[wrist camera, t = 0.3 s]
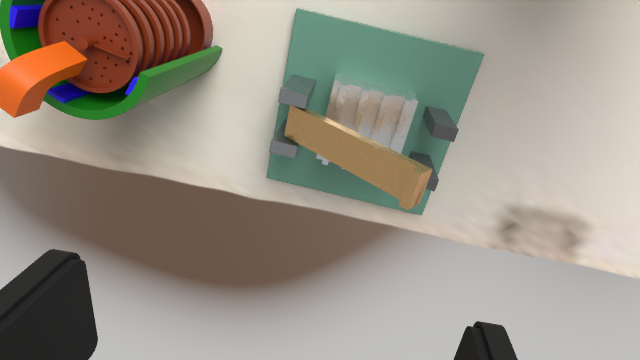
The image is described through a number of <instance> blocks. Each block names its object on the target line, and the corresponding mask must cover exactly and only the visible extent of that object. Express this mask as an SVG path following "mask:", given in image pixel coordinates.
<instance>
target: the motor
mask: <svg viewBox="0 0 640 360" xmlns="http://www.w3.org/2000/svg"><path fill="white" fill-rule="evenodd" d="M0 30H1V35H2V39H3V43H4V46H5V49H6V51H7V54H8V56H9V58H10V60H11V61H10V62H9V63H7V64H6V65H5V66H3V67H2V68H1V69H0V108H2V109H3V110H4V111H6V112H7V113H8V114H10V115H11V116H13V117H14V118H15V117H18V116H21V115H24V114H27V113H30V112H32V111H35V110H38V109H39V108H40V105H41V103H42V100H44V101H45V102H47V103H48V104H49V105H51V106H53V107H54V108H56V109H58V110H60V111H62V112H64V113H66V114H69V115H72V116H75V117H79V118H83V119H91V120H99V119H107V118H111V117H115V116H117V115H120V114H122V113H124V112H126V111H128V110H130V109H132V108H134V107H136V106H138V105H140V104H142V103H144V102H146V101H148V100H150V99H152V98H154V97H156V96H158V95H160V94H162V93H164V92H166V91H168V90H170V89H172V88H174V87H176V86H179V85H181V84H183V83H185V82H187V81H189V80H191V79H193V78H195V77H197V76H199V75H201V74H203V73H204V72H206V71H207V70H209V69H210V68H211V67H212V66H213V65H214V64H215V63H216V61H217V60H218V58H219V56H220V54H221V52H222V48H220V47H218V46H214V47H211V48H210V45H211V42H212V37H213V26H212V21H211V17H210V15H209V12H208V10H207V8H206V7H205V5H204V4H203V2H202V1H201V0H1V2H0Z"/></svg>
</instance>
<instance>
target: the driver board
mask: <svg viewBox="0 0 640 360" xmlns="http://www.w3.org/2000/svg"><path fill="white" fill-rule="evenodd" d="M483 56H484V54H483V53H481V52H477V51H472V50H468V49H464V48H460V47H456V46H452V45H448V44H444V43H440V42H436V41H431V40H427V39H423V38H419V37H415V36H411V35H407V34H403V33H399V32H395V31H390V30H386V29H382V28H378V27H374V26H370V25H366V24H362V23H358V22H354V21H349V20H345V19H341V18H337V17H333V16H329V15H325V14H321V13H317V12H312V11H308V10H304V9H300V8H297V9H296V15H295V20H294V26H293V32H292V37H291V43H290V49H289V54H288V60H287V65H286V71H285V77H284V82H283V85H284V84H285V83H286V82H287V81H288V79H289V78H290V77H291V76H292V75H293V74H295V75H299V76H303V77H307V78H311V79H315V80H316V84H315V89H314V92H313V94H312V96H311V98H310V100H309V102H308V104H307V106H306V108H307V109H309V110H311V111H313V112H316V113H318V114H320V115H322V116H324V117H326V113H327V109H328V104H329V100H330V96H331V92H332V87H333V83H334V79H335V76H336V74H338V75H342V76H346V77H350V78H354V79H358V80H362V81H366V82H371V83H375V84H379V85H383V86H387V87H391V88H395V89H399V90H403V91H407V92H412V93H415V94H416V97H417V99H418V104H417V107H416V110H415V113H414V116H413V119H412V122H411V125H410V128H409V131H408V134H407V137H406V140H405V143H404V146H403V149H402V152H401V154H402V155H404V156H406V157H409V158H411V159H413V160H415V161H417V162H419V163H421V164H423V165H425V166H427V167H429V168H431V169H432V172H431V175H430V177H429V180H428V183H427V185H426V188H425V191H424V193H423V196H422V198H421V201H420V204H418V205H416V206H415V207H413V208H411V209H409V210H406V209H404V208H402V207H401V206H399V202H400V200H399V199H398V198H396V197H394V196H392V195H390V194H389V193H387V192H385V191H383V190H381V189H380V188H378V187H376V186H374V185H372V184H371V183H369V182H367V181H365V180H363V179H362V178H360V177H358V176H356V175H354V174H353V173H351V172H349V171H347V170H345V169H341V168H342V167H340V166H338V165H336V164H335V163H333V162H328V165H324V164H322V161H323V160H321V159H317V158H316V156H317V154H316V153H315V152H313V151H311V150H309V149H307V148H306V147H304V146H302V145H300V147H299V150H298V152H297V155H296V157H295V158H291V157H287V156H283V155H279V154H275V153H271V156H270V162H269V167H268V173H267V178H271V179H275V180H279V181H283V182H287V183H291V184H296V185H300V186H304V187H308V188H312V189H316V190H320V191H324V192H328V193H332V194H337V195H341V196H345V197H349V198H353V199H357V200H361V201H365V202H369V203H373V204H378V205H382V206H386V207H390V208H394V209H398V210H402V211H406V212H410V213H414V214H418V215H422V213H423V211H424V208H425V206H426V203H427V200H428V198H429V195H430V193H431V190H432V191H435V188H436V186H437V183H438V181H439V179H438V176H437V175H438V172H439V169H440V167H441V164H442V162H443V159H444V157H445V154H446V151H447V149H448V146H449V144H450V141H451V142H454V140H455V137H456V135H457V132H458V130H459V129H458V128H457V123H458V120H459V118H460V115H461V113H462V110H463V107H464V105H465V102H466V100H467V97H468V95H469V92H470V89H471V87H472V84H473V82H474V79H475V76H476V74H477V71H478V69H479V66H480V64H481V61H482V58H483ZM289 107H290V105H288V104H284V103H280V105H279V111H278V116H277V122H276V128H275V133H274V136H275V134H276V132H277V131H278V129H279V128H280V126H281V124H282V123H283V121H284V120H285V119H286V120H287V118H288V113H289Z"/></svg>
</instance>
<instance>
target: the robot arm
mask: <svg viewBox="0 0 640 360" xmlns="http://www.w3.org/2000/svg"><path fill="white" fill-rule="evenodd" d="M97 341H98V337H97V331H96V325H95V318H94V313H93V306H92V300H91V294H90V288H89V282H88V276H87V270H86V264H85V262H84V261H83V260H81V259H80V256H79V255H78V254H77V253H72V252H67V251H61V250H55V249H52V250H49V251H47V252H46V253H45V254H43V255H42V256H41V257H40V258H38V259H37V260H36V261H35V262H34V263H32V264H31V265H30V266H29V267H28V268H26V269H25V270H24V271H23V272H22V273H20V274H19V275H18V276H17V277H15V278H14V279H13V280H12V281H11V282H9V283H8V284H7V285H6V286H5V287H3V288H2V289H1V290H0V360H88V359H89V358H90V357H91V355H92V354H93V352H94V351H95V348H96V346H97ZM454 360H518V359H517V358H516V355H515V352H514V349H513V347H512V344H511V342H510V340H509V337H508V335H507V332H506V330H505V328H504V327H503V326H502V325H497V324H491V323H485V322H479V321H477V322H476V323H475V324H474V326H473V327H471V326H468V327H467V328H466V329H465V331H464V334H463V337H462V340H461V342H460V344H459V347H458V350H457V352H456V355H455V357H454Z"/></svg>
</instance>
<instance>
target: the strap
mask: <svg viewBox="0 0 640 360" xmlns="http://www.w3.org/2000/svg"><path fill="white" fill-rule="evenodd" d="M284 136H286V137H288V138H289V139H291V140H293V141H295V142H297V143H298V144H300V145H302V146H304V147H306V148H307V149H309V150H311V151H313V152H315V153H316V154H318V155H320V156H322V157H324V158H326V159H327V160H329V161H331V162H333V163H335V164H336V165H338V166H340V167H342V168H344V169H345V170H347V171H349V172H351V173H353V174H354V175H356V176H358V177H360V178H362V179H363V180H365V181H367V182H369V183H371V184H372V185H374V186H376V187H378V188H380V189H381V190H383V191H385V192H387V193H389V194H390V195H392V196H394V197H396V198H398V199H399V200H400V202H399V206H401V207H402V208H404V209H406V210H409V209H411V208H413V207H415V206H416V205H418V204H420V201H421V198H422V196H423V193H424V191H425V188H426V185H427V183H428V180H429V177H430V175H431V172H432V169H431V168H429V167H427V166H425V165H423V164H421V163H419V162H417V161H415V160H413V159H411V158H409V157H406V156H404V155H402V154H400V153H398V152H396V151H394V150H392V149H390V148H388V147H386V146H384V145H382V144H380V143H378V142H375V141H373V140H371V139H369V138H367V137H365V136H363V135H361V134H359V133H357V132H355V131H353V130H351V129H349V128H347V127H344V126H342V125H340V124H338V123H336V122H334V121H332V120H330V119H328V118H326V117H324V116H322V115H320V114H318V113H316V112H313V111H311V110H309V109H307V108H305V109H304V108H300V107H296V106H292V105H290V107H289V113H288V118H287V123H286V129H285V134H284Z"/></svg>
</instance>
